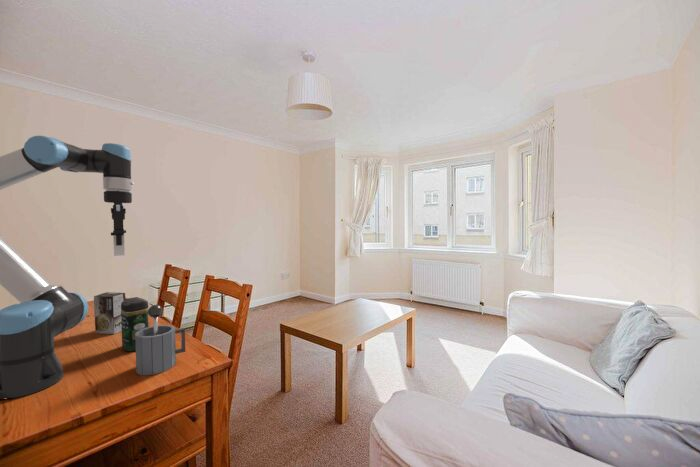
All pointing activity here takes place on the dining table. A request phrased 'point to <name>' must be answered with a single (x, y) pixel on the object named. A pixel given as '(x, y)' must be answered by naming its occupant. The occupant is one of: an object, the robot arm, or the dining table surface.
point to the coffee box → (108, 312)
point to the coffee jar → (133, 320)
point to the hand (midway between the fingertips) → (119, 253)
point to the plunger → (155, 316)
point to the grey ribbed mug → (157, 349)
